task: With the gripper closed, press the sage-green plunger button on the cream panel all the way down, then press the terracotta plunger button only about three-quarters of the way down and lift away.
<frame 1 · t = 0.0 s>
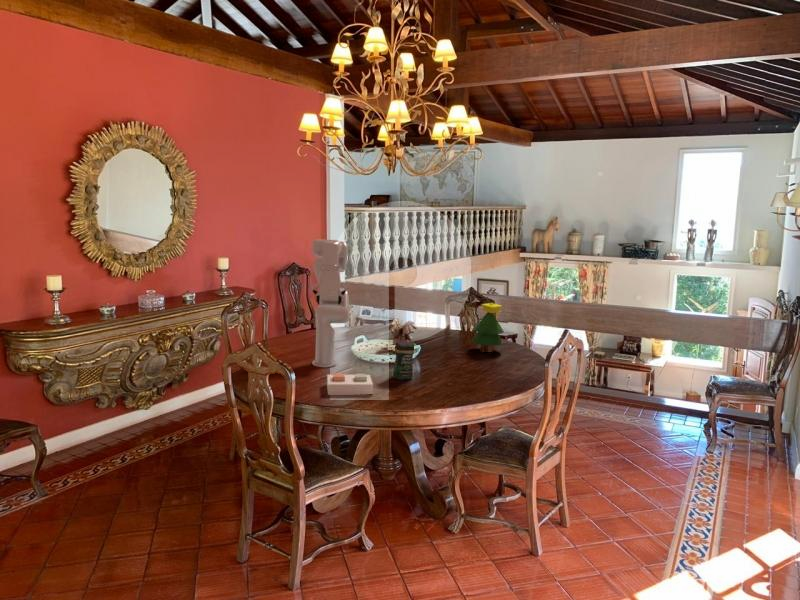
hand: (328, 304, 281), 37 cm above the table, tool pointing down, fingers open, 9 cm apart
button panel: (349, 389, 273), on the table
sage button: (360, 378, 273), point 5 cm above the table, slide at 0.0 cm
coffee jar: (402, 378, 295), on the table
cherub figurine: (402, 349, 350), on the table
decorative tree: (486, 351, 355), on the table
terracotta button: (338, 378, 272), point 5 cm above the table, slide at 0.0 cm
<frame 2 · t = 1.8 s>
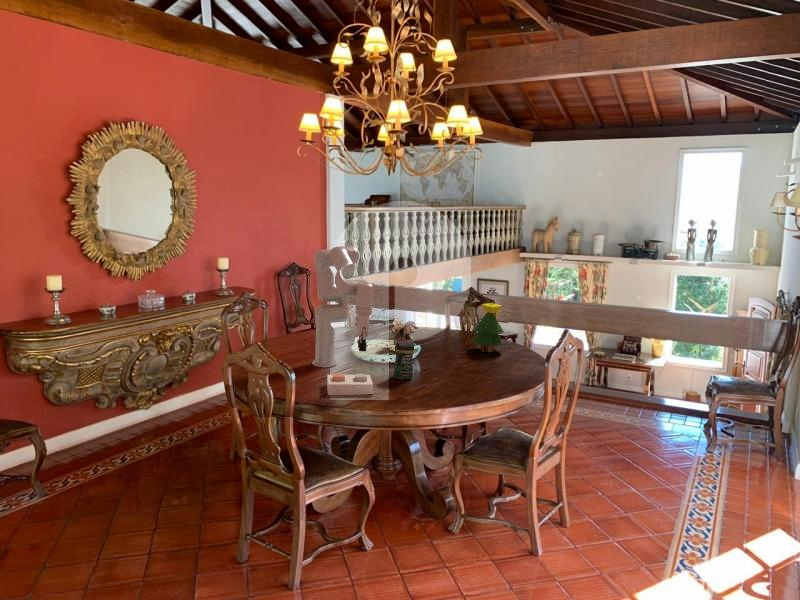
hand: (362, 349, 271), 19 cm above the table, tool pointing down, fingers open, 4 cm apart
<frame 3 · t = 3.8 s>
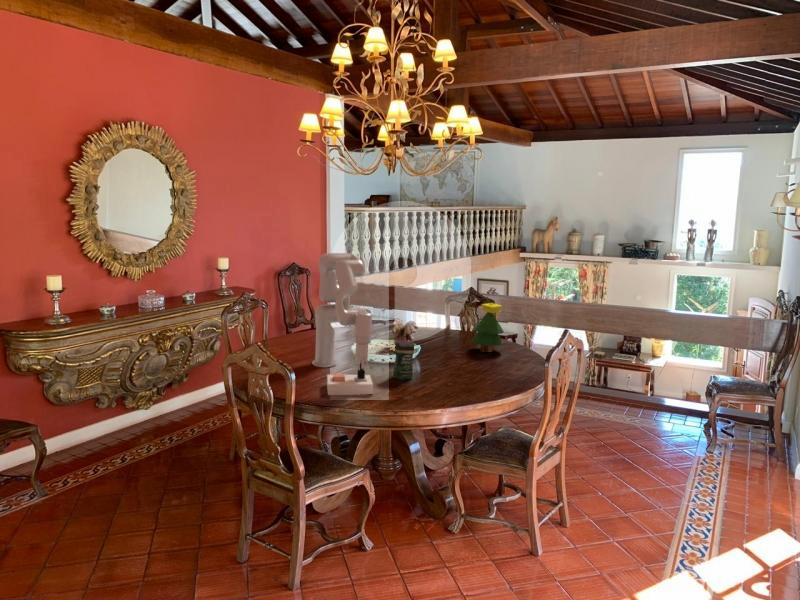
hand: (360, 378, 273), 6 cm above the table, tool pointing down, fingers closed
sage button: (360, 381, 273), point 4 cm above the table, slide at 1.3 cm, touching gripper
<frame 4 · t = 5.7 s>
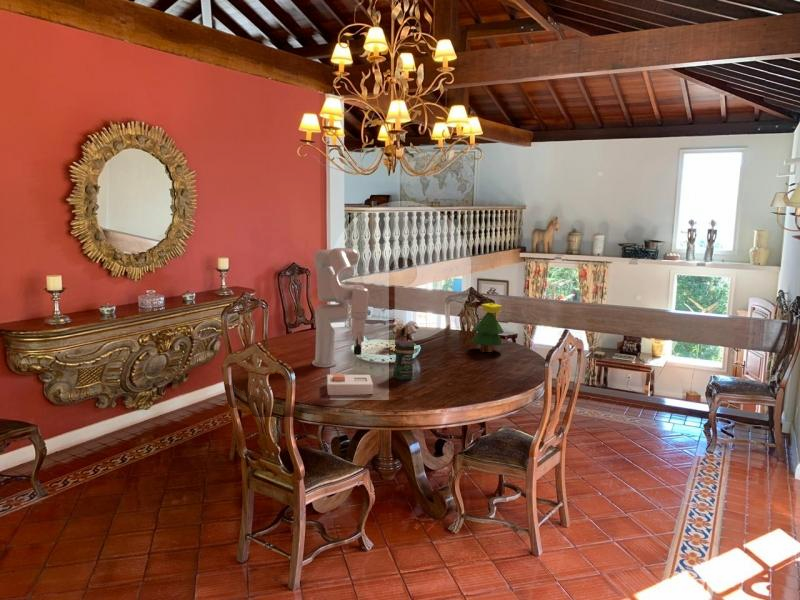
hand: (357, 354, 271), 17 cm above the table, tool pointing down, fingers closed
sage button: (360, 383, 274), point 3 cm above the table, slide at 2.5 cm
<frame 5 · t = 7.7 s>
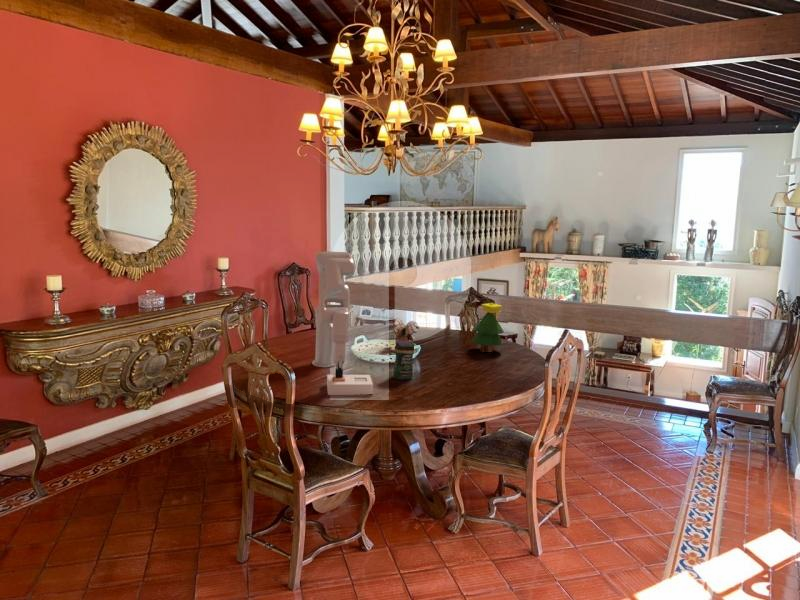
hand: (339, 377, 271), 6 cm above the table, tool pointing down, fingers closed
terracotta button: (338, 380, 272), point 4 cm above the table, slide at 0.9 cm, touching gripper
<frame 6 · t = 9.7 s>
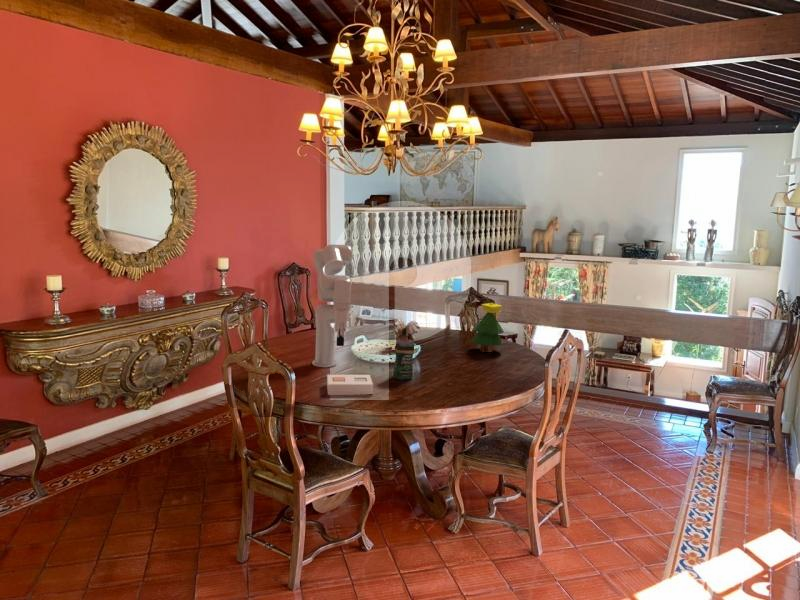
hand: (340, 345, 269), 21 cm above the table, tool pointing down, fingers closed
terracotta button: (338, 382, 272), point 4 cm above the table, slide at 1.8 cm
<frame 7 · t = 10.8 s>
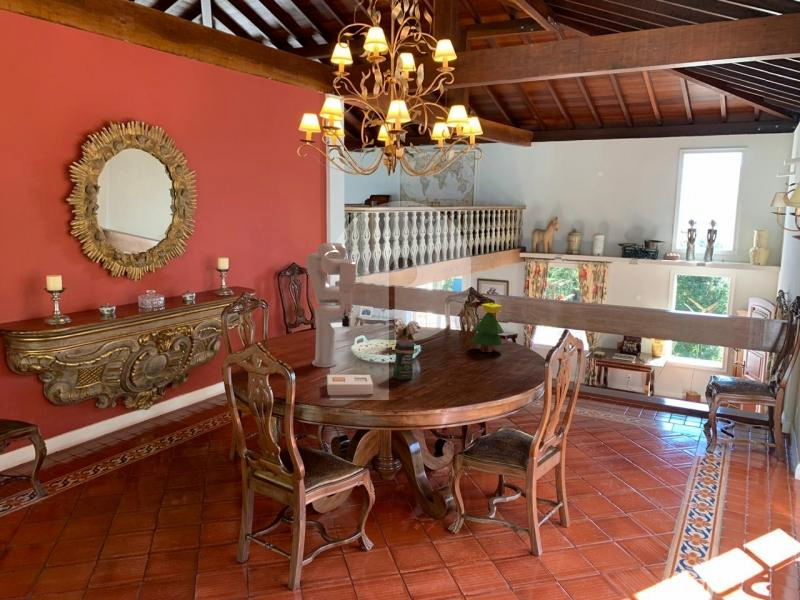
hand: (345, 326, 280), 27 cm above the table, tool pointing down, fingers closed
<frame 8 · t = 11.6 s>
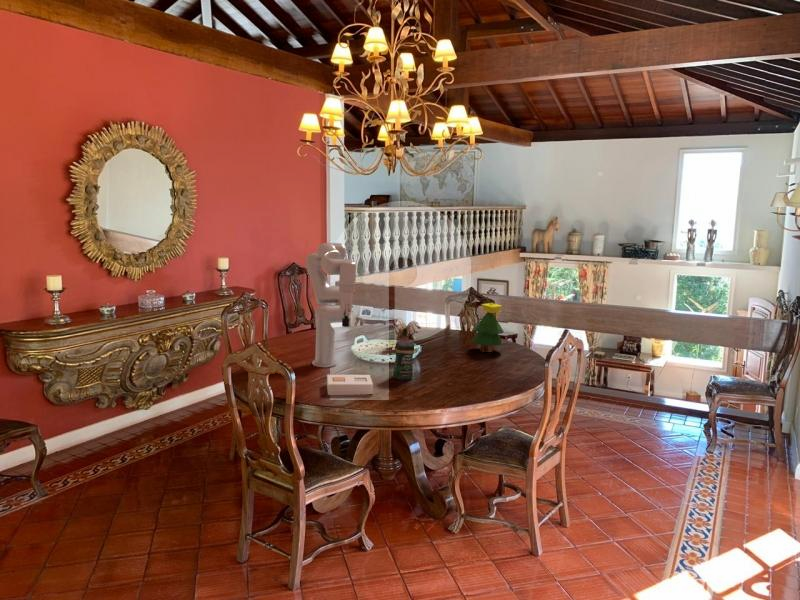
hand: (345, 326, 280), 27 cm above the table, tool pointing down, fingers closed
at the end: sage button slide at 2.5 cm; terracotta button slide at 1.8 cm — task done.
